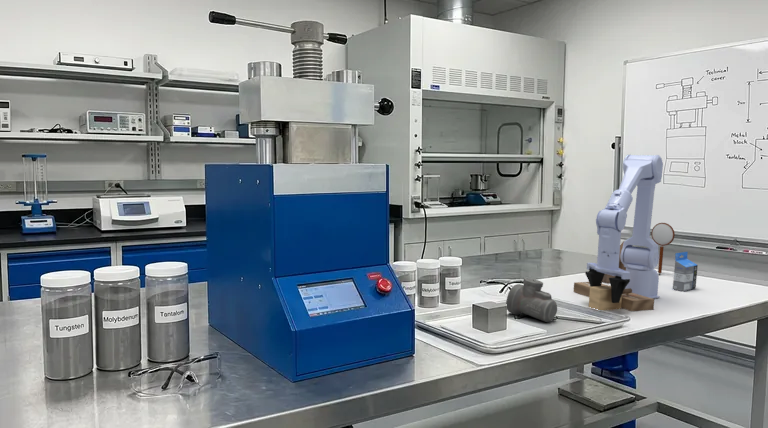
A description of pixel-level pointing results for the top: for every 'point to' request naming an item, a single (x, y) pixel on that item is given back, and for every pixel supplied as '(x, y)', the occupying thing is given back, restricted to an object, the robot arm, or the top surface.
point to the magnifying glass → (662, 239)
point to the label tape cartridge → (684, 273)
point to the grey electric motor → (531, 300)
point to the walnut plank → (628, 301)
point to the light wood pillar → (604, 298)
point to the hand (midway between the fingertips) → (605, 299)
